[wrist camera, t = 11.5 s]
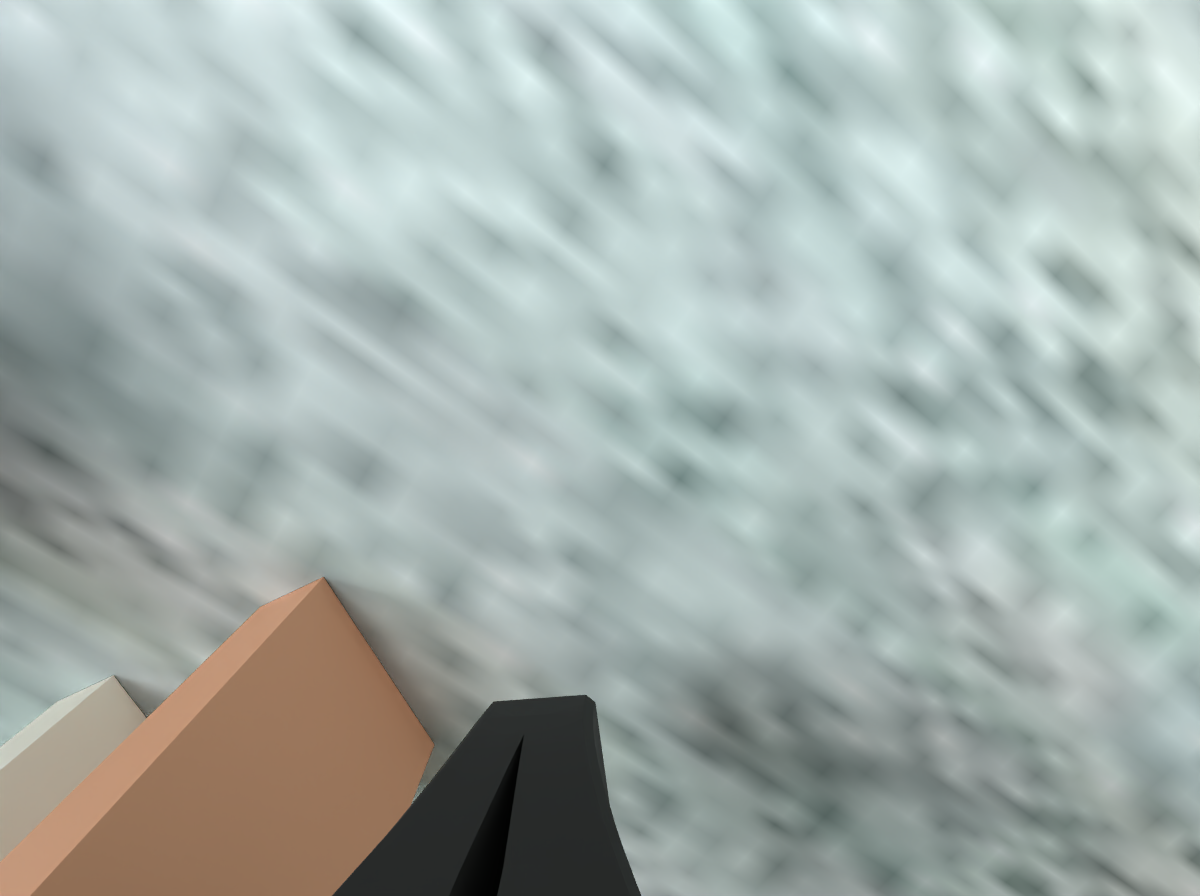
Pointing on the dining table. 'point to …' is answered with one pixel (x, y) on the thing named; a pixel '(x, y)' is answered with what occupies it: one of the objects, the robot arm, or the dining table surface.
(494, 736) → the robot arm
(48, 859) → the rust domino
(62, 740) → the ivory domino
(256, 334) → the dining table surface
